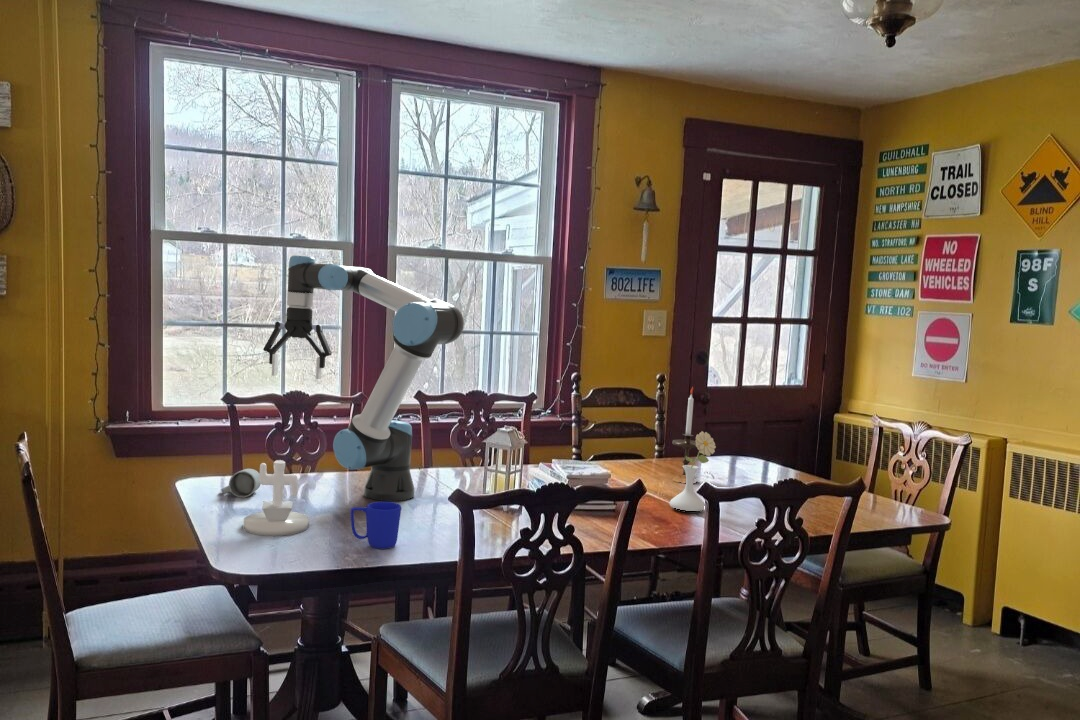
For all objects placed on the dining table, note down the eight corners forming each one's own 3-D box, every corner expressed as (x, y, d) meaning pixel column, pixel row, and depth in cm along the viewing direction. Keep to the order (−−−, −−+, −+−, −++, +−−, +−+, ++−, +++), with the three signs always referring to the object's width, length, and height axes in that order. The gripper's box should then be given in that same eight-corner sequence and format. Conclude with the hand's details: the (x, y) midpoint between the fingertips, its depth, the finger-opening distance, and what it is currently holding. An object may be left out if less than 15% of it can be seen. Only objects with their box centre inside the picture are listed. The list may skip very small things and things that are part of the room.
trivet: (317, 521, 221) (318, 513, 220) (294, 538, 205) (295, 530, 205) (259, 516, 222) (259, 508, 222) (232, 532, 206) (232, 524, 206)
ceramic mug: (262, 491, 248) (263, 466, 247) (255, 498, 240) (255, 472, 239) (226, 490, 247) (226, 465, 247) (217, 497, 239) (218, 470, 239)
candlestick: (702, 485, 298) (710, 388, 295) (672, 483, 298) (679, 386, 295) (696, 478, 309) (703, 385, 306) (667, 477, 309) (674, 383, 306)
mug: (351, 539, 207) (353, 500, 206) (400, 541, 208) (402, 502, 207) (346, 549, 198) (348, 508, 198) (397, 551, 199) (400, 510, 199)
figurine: (296, 522, 211) (298, 464, 210) (256, 522, 208) (259, 463, 207) (296, 514, 218) (298, 458, 217) (258, 515, 215) (260, 458, 214)
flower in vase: (676, 515, 253) (683, 433, 251) (663, 505, 264) (669, 427, 262) (716, 515, 256) (723, 435, 254) (702, 506, 267) (708, 428, 265)
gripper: (344, 310, 255) (340, 378, 256) (263, 304, 256) (260, 372, 257) (336, 310, 247) (333, 381, 249) (254, 304, 248) (251, 375, 250)
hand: (296, 377), depth 253 cm, fingers open, 13 cm apart
